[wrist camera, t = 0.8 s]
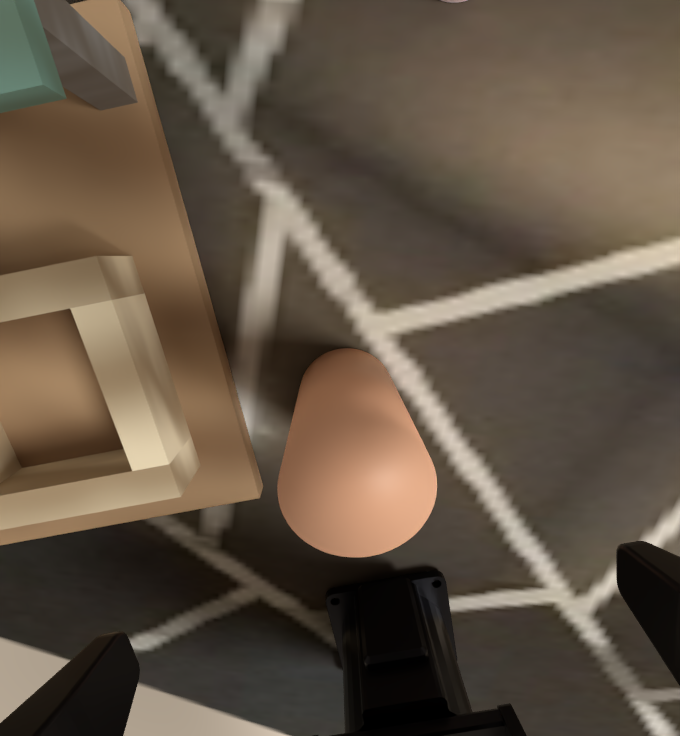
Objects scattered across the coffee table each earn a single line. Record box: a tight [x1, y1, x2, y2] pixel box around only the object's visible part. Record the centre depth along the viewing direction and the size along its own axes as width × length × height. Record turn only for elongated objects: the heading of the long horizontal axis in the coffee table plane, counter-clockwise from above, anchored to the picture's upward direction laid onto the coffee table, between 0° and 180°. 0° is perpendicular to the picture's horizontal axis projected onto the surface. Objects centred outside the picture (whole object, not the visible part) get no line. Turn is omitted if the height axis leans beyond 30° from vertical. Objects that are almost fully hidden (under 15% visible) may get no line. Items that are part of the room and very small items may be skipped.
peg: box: [277, 348, 437, 557], centre depth 15 cm, size 4×4×8 cm
